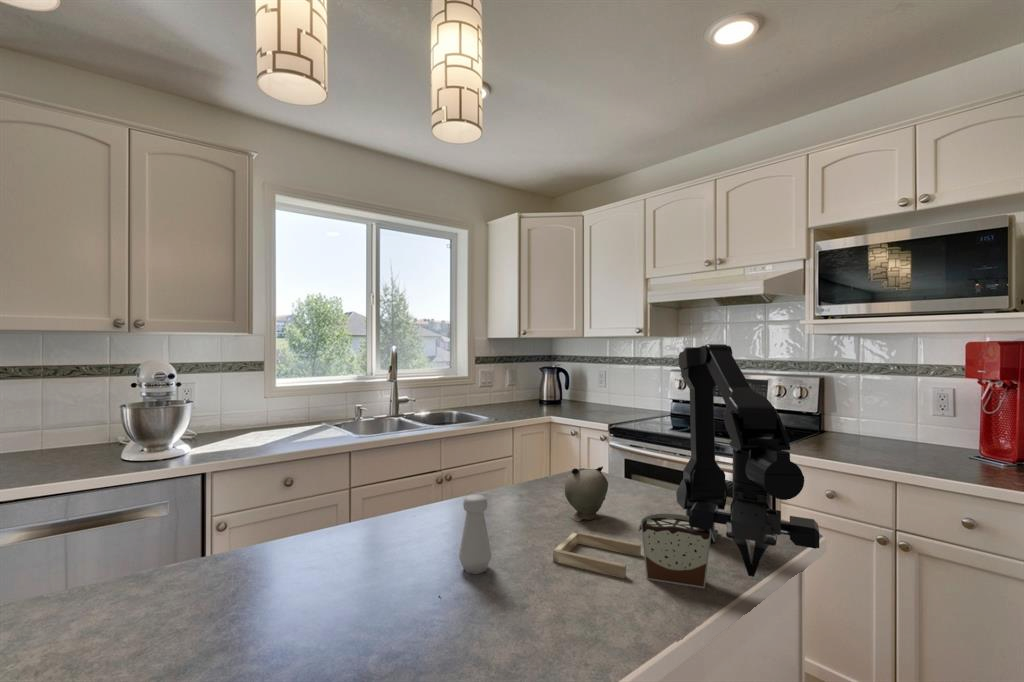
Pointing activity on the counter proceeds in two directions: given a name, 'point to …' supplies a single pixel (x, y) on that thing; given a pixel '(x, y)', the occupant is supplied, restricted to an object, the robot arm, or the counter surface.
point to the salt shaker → (475, 536)
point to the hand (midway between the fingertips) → (751, 575)
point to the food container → (675, 549)
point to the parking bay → (591, 563)
